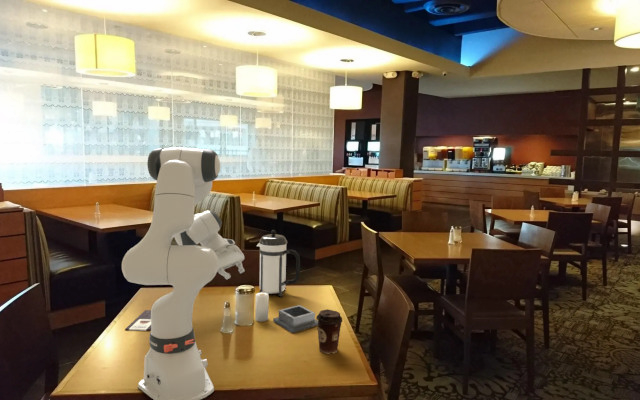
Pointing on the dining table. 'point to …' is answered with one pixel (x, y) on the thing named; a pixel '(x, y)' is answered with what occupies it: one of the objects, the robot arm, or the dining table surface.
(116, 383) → the dining table surface
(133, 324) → the chocolate bar
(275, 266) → the coffee press
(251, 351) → the dining table surface
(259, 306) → the paper roll
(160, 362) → the robot arm
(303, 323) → the roll stand
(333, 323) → the coffee cup
